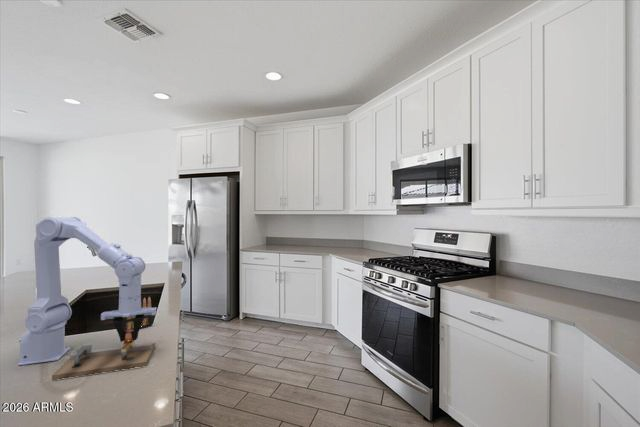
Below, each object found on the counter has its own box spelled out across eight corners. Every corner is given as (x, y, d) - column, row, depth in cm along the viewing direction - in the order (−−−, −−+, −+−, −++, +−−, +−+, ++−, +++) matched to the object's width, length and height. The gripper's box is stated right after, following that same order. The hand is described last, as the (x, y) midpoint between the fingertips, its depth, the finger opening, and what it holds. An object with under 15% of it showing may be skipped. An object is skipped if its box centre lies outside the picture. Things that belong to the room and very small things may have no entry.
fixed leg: (70, 367, 79) (70, 357, 79) (81, 356, 85) (82, 346, 85) (80, 366, 80) (81, 355, 80) (91, 354, 86) (91, 344, 86)
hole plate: (51, 381, 75) (52, 375, 75) (74, 358, 87) (75, 353, 87) (146, 366, 83) (146, 361, 83) (155, 347, 95) (155, 342, 95)
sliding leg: (117, 360, 83) (118, 338, 83) (125, 349, 89) (125, 329, 89) (128, 358, 84) (129, 337, 84) (135, 348, 90) (135, 328, 90)
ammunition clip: (150, 325, 114) (151, 295, 115) (152, 326, 113) (152, 296, 113) (119, 333, 106) (120, 301, 106) (121, 334, 105) (121, 302, 105)
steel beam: (69, 360, 83) (69, 355, 83) (72, 357, 84) (72, 352, 84) (150, 349, 90) (150, 344, 90) (151, 347, 92) (151, 342, 92)
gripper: (97, 302, 82) (96, 348, 82) (153, 298, 87) (152, 341, 87) (106, 296, 89) (105, 338, 89) (158, 292, 94) (157, 332, 94)
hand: (129, 339), depth 88 cm, fingers closed on sliding leg, 3 cm apart
